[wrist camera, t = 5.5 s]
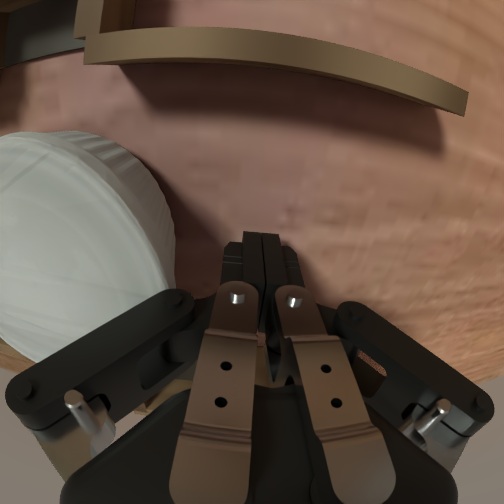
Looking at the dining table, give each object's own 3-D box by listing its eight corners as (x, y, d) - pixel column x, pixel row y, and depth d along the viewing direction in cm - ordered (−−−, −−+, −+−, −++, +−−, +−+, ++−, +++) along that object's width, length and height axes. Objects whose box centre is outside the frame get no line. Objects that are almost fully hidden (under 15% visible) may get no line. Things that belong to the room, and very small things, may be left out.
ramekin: (68, 322, 17) (38, 385, 12) (-20, 172, 11) (-83, 215, 7) (227, 288, 16) (223, 372, 11) (141, 67, 10) (76, 66, 5)
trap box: (435, 9, 8) (476, 3, 6) (322, 389, 21) (329, 422, 19) (-45, 28, 6) (-80, 32, 3) (21, 352, 19) (8, 378, 17)
